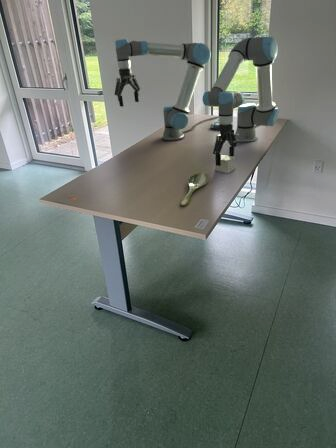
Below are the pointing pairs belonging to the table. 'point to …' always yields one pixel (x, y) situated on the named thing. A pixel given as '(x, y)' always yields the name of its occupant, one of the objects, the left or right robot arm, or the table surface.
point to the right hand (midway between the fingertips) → (224, 161)
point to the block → (226, 164)
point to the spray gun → (215, 124)
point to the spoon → (195, 184)
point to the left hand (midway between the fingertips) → (129, 104)
